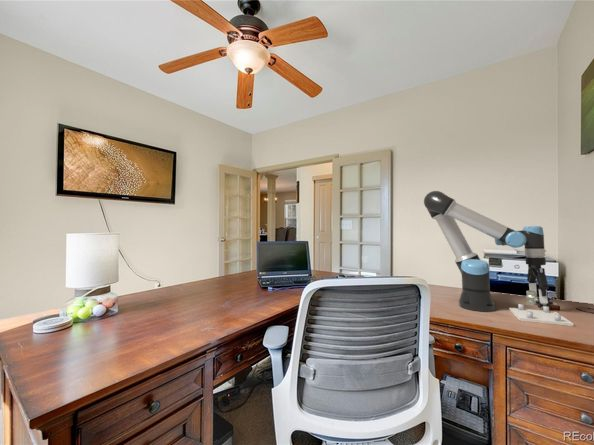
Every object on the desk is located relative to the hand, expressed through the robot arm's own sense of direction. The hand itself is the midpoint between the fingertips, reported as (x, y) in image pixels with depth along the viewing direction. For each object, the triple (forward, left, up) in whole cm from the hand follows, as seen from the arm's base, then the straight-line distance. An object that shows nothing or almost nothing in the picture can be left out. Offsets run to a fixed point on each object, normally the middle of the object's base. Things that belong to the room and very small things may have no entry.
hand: (538, 299), depth 131 cm
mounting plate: (-6, -19, -4) cm, 20 cm away
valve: (-1, +1, -4) cm, 4 cm away
